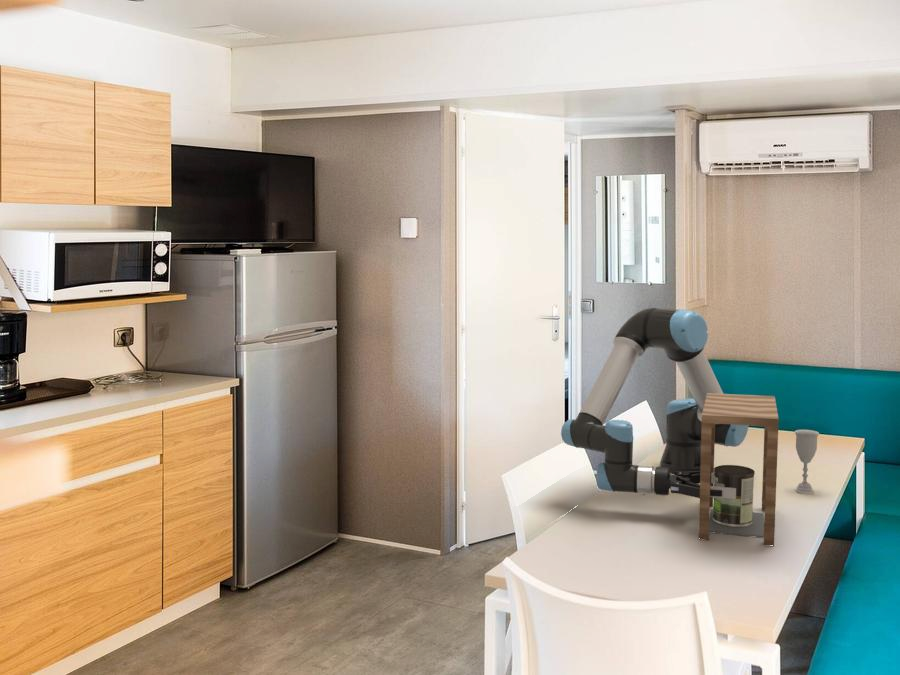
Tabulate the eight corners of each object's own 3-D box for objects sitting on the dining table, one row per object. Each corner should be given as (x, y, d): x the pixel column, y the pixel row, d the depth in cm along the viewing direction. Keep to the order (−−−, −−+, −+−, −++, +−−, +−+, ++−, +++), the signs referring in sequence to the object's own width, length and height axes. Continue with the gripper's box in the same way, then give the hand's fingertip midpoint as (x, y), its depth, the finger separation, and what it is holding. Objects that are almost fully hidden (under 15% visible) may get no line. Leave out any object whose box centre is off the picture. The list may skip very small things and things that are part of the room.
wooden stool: (704, 503, 260) (707, 393, 256) (770, 508, 254) (774, 396, 251) (698, 539, 230) (701, 414, 226) (774, 546, 224) (778, 419, 220)
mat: (710, 510, 253) (710, 508, 253) (763, 514, 249) (763, 513, 249) (707, 532, 235) (707, 531, 235) (765, 537, 230) (765, 536, 230)
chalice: (818, 495, 267) (821, 435, 265) (794, 494, 268) (796, 434, 266) (814, 488, 274) (816, 430, 272) (790, 487, 275) (792, 429, 273)
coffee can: (721, 527, 237) (722, 475, 235) (706, 515, 247) (708, 465, 245) (759, 526, 238) (761, 474, 236) (743, 514, 248) (745, 464, 246)
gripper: (658, 481, 259) (735, 487, 253) (649, 507, 236) (735, 514, 229) (658, 456, 258) (736, 461, 252) (650, 478, 235) (736, 485, 228)
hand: (736, 486), depth 241 cm, fingers open, 13 cm apart
